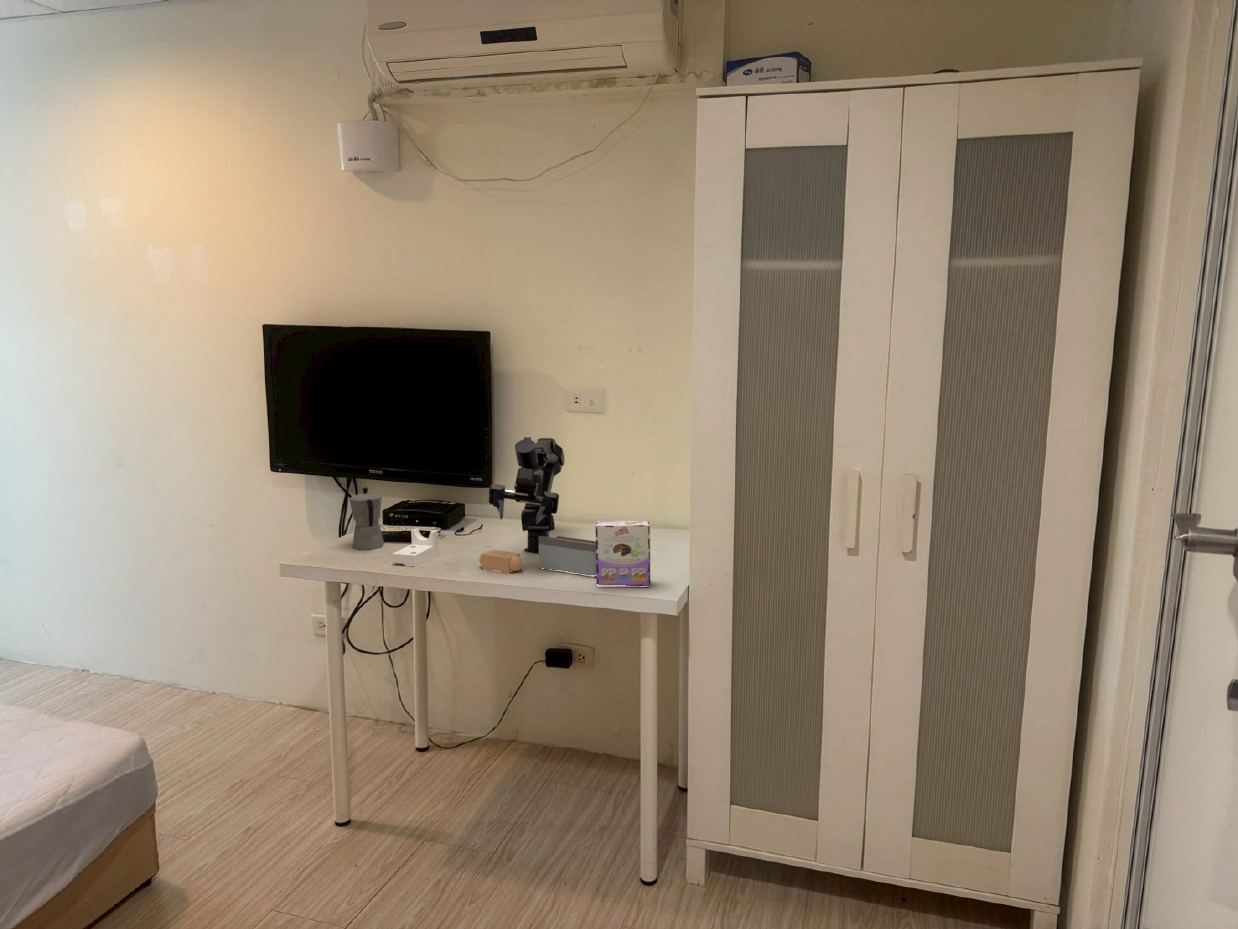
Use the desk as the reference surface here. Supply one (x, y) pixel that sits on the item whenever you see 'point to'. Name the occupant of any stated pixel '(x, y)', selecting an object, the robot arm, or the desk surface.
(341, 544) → the desk surface
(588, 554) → the panel
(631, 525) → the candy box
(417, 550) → the bracket
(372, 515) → the coffeepot
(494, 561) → the dome topped block
